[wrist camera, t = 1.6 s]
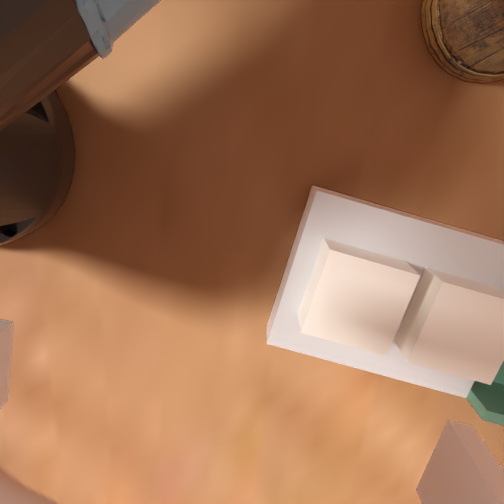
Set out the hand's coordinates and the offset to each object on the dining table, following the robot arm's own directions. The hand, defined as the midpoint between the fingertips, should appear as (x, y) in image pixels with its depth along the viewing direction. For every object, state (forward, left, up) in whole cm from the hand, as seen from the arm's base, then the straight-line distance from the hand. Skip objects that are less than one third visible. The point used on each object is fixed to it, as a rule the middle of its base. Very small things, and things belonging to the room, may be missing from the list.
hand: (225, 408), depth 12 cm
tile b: (+15, -1, -18) cm, 23 cm away
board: (+11, -1, -21) cm, 23 cm away
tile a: (+8, -1, -18) cm, 19 cm away
